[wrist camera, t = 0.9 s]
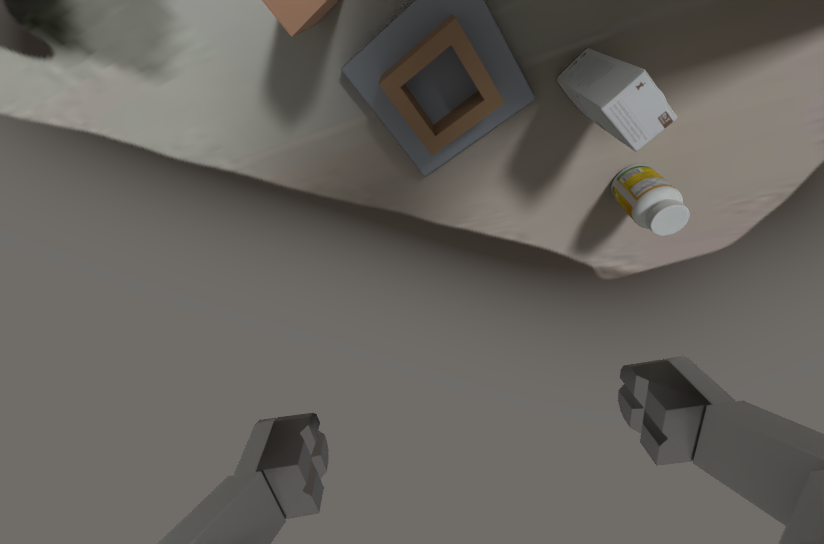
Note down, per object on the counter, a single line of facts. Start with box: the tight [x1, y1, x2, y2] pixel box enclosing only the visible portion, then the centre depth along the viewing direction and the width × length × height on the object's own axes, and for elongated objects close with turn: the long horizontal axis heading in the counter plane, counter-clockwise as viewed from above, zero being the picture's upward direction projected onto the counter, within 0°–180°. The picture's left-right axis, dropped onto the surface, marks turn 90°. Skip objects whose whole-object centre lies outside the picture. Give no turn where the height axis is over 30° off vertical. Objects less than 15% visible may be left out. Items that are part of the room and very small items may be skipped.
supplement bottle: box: [611, 164, 689, 236], centre depth 46 cm, size 5×5×10 cm
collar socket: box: [341, 0, 535, 176], centre depth 40 cm, size 15×15×6 cm
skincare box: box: [557, 48, 677, 152], centre depth 37 cm, size 6×4×12 cm
